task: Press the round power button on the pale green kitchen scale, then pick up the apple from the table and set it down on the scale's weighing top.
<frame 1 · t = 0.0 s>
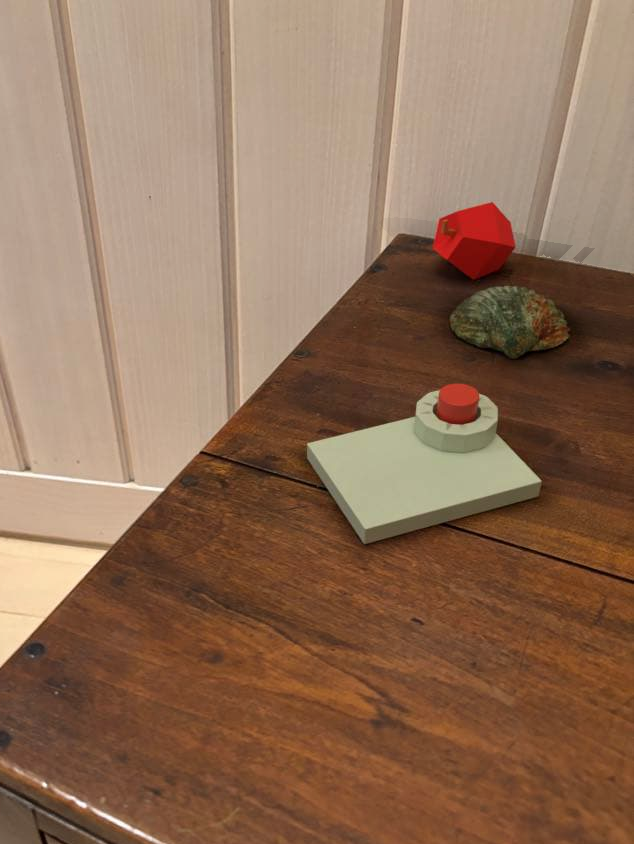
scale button: (457, 404, 65), point 4 cm above the table, slide at 0.1 cm
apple: (470, 270, 88), on the table
seashell: (508, 331, 79), on the table
scale: (418, 477, 65), on the table
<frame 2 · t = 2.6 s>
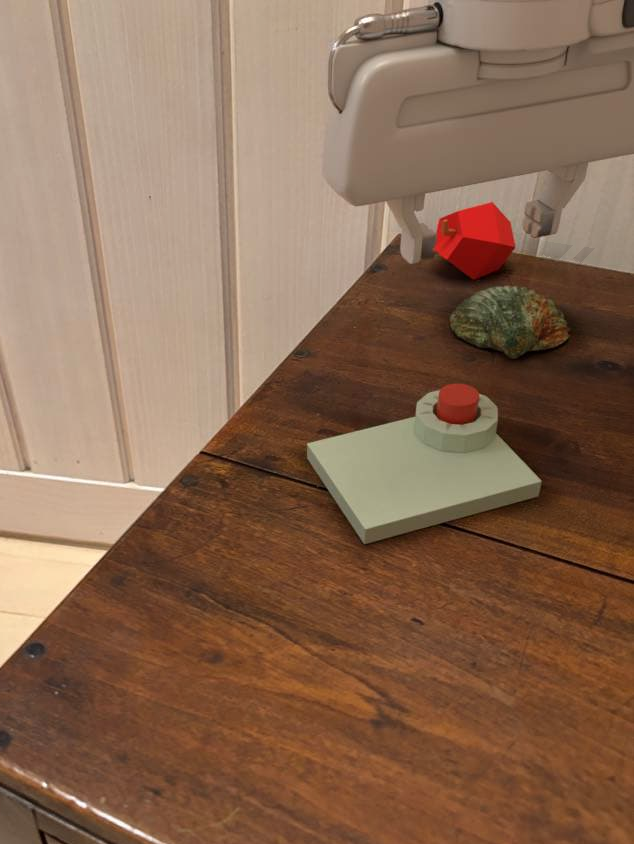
hand: (478, 245, 57), 15 cm above the table, tool pointing down, fingers open, 7 cm apart
nothing on the table moved.
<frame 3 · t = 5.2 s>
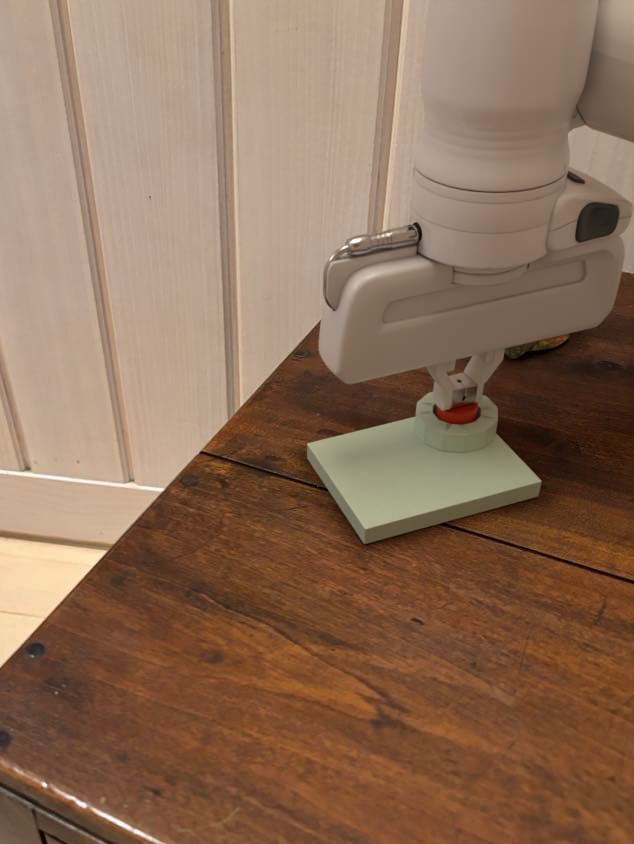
hand: (456, 402, 65), 4 cm above the table, tool pointing down, fingers closed, pressing on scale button
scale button: (456, 413, 66), point 3 cm above the table, slide at -0.6 cm, touching gripper
everything else where it was.
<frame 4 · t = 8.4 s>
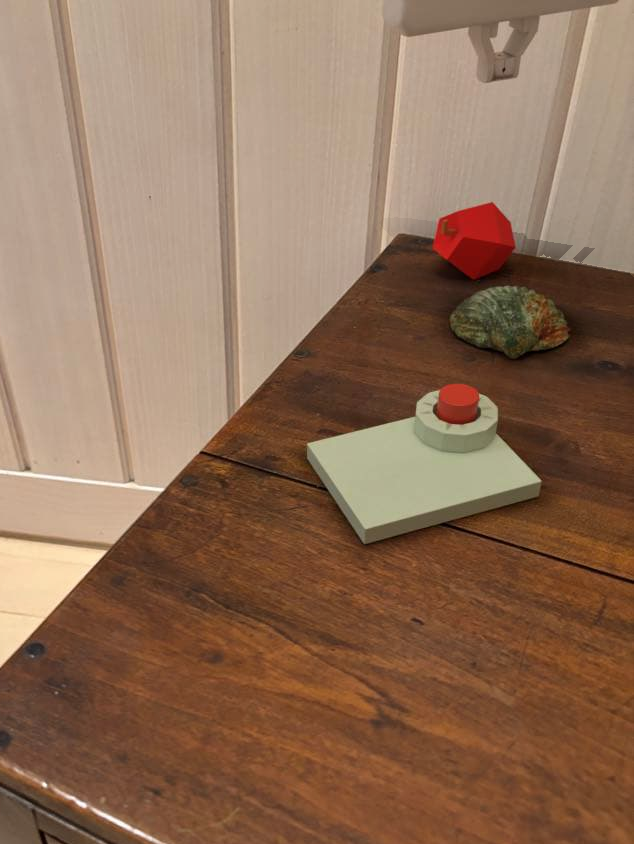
hand: (496, 79, 76), 17 cm above the table, tool pointing down, fingers closed
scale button: (457, 404, 65), point 3 cm above the table, slide at 0.1 cm
everything else where it was.
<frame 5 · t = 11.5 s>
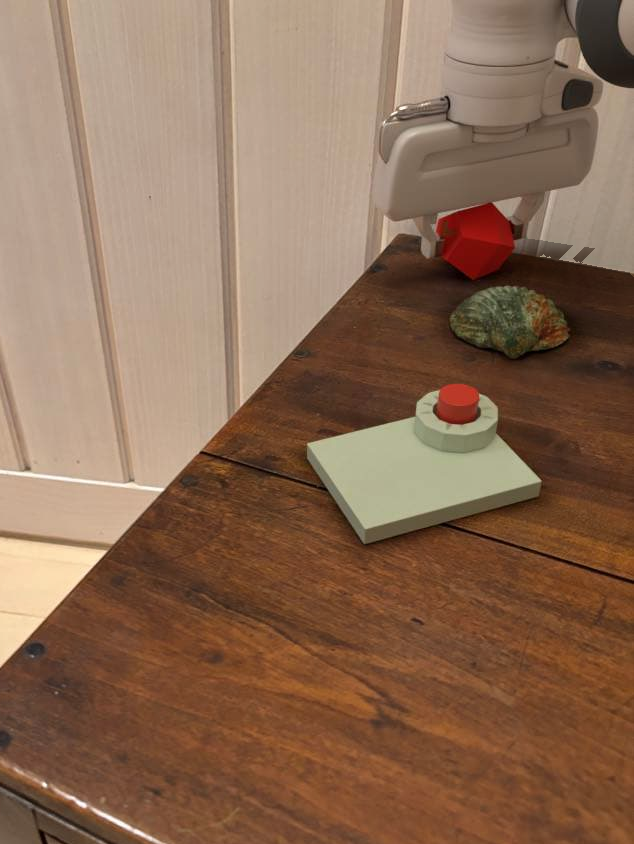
hand: (473, 246, 86), 2 cm above the table, tool pointing down, fingers closed on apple, 7 cm apart
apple: (469, 270, 88), on the table, touching gripper
everything else where it was.
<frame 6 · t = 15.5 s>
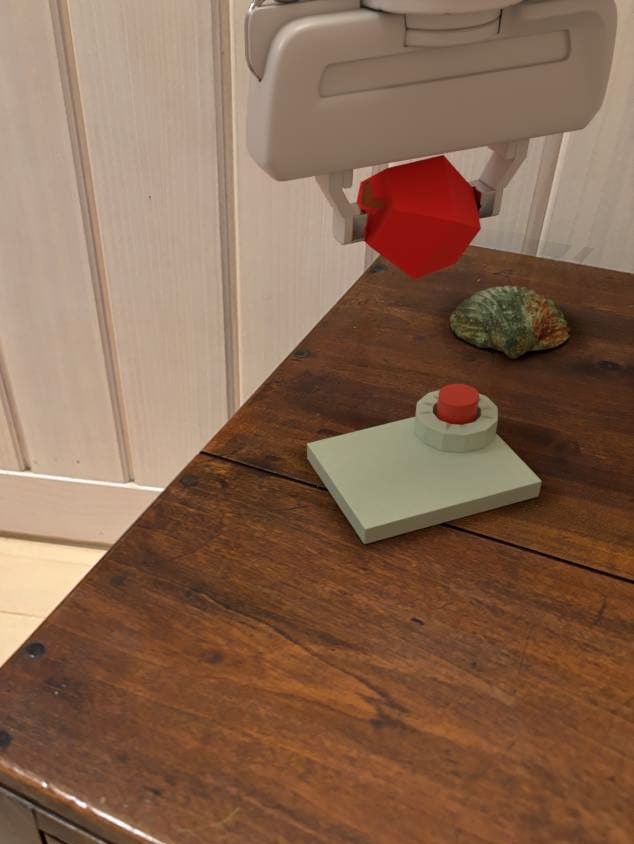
hand: (416, 226, 55), 18 cm above the table, tool pointing down, fingers closed on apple, 7 cm apart
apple: (411, 264, 56), point 15 cm above the table, touching gripper
everything else where it was.
when the fingers open (4 cm above the table, at t = 19.7 s): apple stays where it is, resting on scale.
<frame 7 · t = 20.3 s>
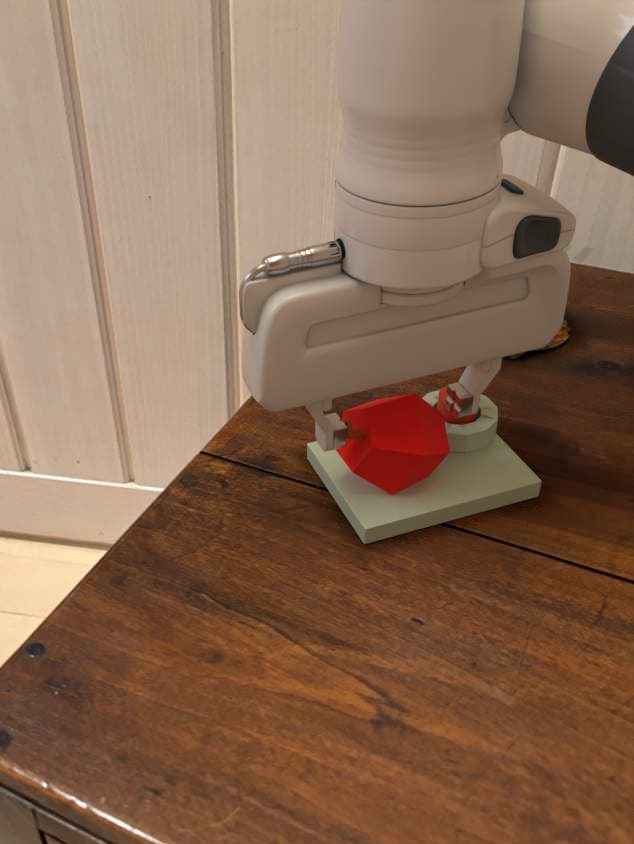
hand: (396, 427, 61), 5 cm above the table, tool pointing down, fingers open, 8 cm apart
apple: (389, 475, 64), point 1 cm above the table, touching scale
everything else where it was.
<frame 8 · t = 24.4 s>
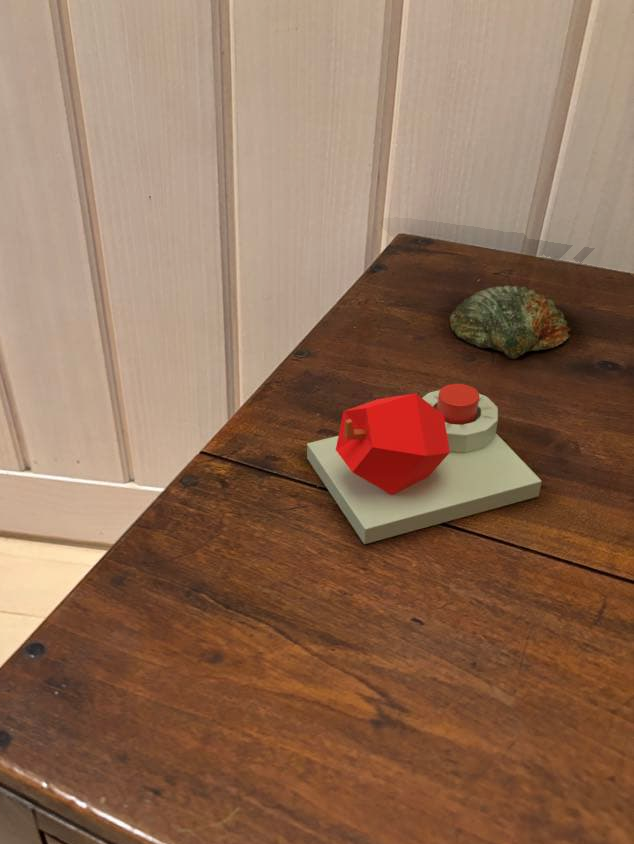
nothing on the table moved.
at the end: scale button pushed in 0.9 cm at the most during the clip, back to where it started at the end; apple inside the target area on the scale (1.3 cm from its centre), point 1.2 cm above the scale's base; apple touching scale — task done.
